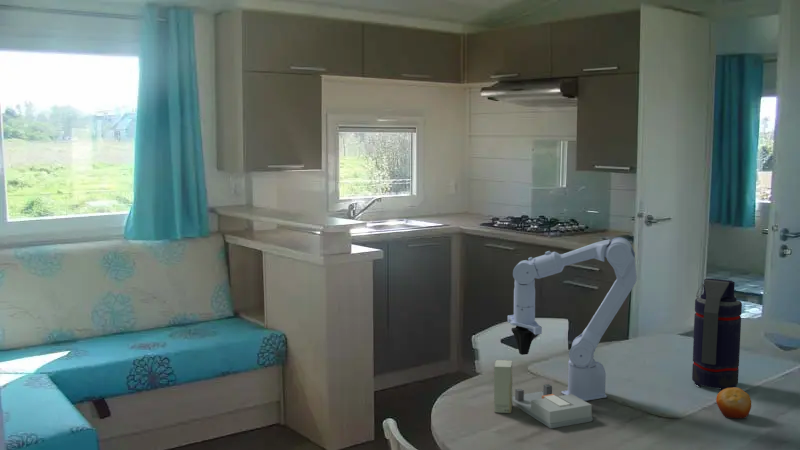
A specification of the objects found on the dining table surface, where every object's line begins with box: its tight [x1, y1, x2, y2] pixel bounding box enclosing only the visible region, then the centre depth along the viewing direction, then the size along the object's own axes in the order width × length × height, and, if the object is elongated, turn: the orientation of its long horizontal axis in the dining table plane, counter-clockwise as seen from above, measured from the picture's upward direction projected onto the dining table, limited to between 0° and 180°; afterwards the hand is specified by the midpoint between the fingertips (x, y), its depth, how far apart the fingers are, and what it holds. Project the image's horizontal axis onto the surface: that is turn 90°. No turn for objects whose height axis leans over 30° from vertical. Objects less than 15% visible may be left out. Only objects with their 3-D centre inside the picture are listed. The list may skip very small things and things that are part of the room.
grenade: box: [691, 278, 743, 391], centre depth 216 cm, size 14×12×30 cm
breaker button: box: [542, 393, 570, 407], centre depth 197 cm, size 3×8×3 cm, turn 22°
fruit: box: [715, 386, 752, 419], centre depth 196 cm, size 8×8×8 cm
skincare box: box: [493, 359, 513, 414], centre depth 201 cm, size 6×4×12 cm
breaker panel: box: [512, 383, 593, 429], centre depth 201 cm, size 12×21×4 cm, turn 22°
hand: (523, 353), depth 214 cm, fingers closed
